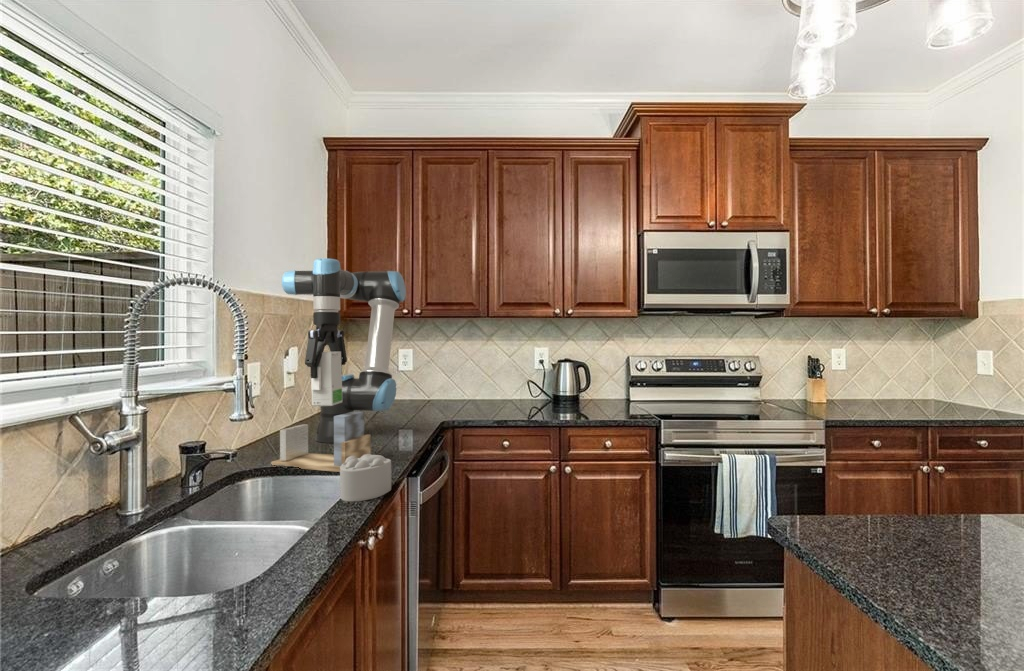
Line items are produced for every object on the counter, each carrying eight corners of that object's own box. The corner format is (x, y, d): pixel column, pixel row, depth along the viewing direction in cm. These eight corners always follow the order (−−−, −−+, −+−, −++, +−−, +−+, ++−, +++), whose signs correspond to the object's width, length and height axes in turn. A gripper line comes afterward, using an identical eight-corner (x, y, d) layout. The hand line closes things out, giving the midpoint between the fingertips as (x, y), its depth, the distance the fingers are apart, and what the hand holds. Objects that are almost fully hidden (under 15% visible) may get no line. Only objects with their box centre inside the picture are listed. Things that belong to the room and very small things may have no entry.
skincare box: (332, 406, 151) (331, 352, 151) (309, 406, 152) (308, 352, 151) (343, 402, 160) (342, 350, 159) (322, 402, 160) (321, 350, 160)
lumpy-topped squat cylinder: (396, 487, 132) (396, 453, 132) (366, 503, 120) (366, 465, 120) (361, 484, 136) (361, 450, 136) (328, 499, 123) (328, 462, 123)
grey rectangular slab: (302, 453, 164) (302, 424, 164) (308, 453, 164) (308, 424, 164) (280, 460, 155) (280, 429, 155) (285, 461, 154) (285, 430, 154)
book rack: (300, 456, 166) (300, 407, 166) (370, 461, 159) (370, 411, 159) (270, 466, 154) (270, 414, 154) (345, 472, 147) (345, 417, 147)
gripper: (338, 313, 167) (338, 384, 167) (290, 310, 146) (290, 391, 146) (359, 312, 165) (359, 385, 165) (313, 309, 144) (313, 392, 144)
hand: (326, 388), depth 155 cm, fingers closed on skincare box, 9 cm apart
